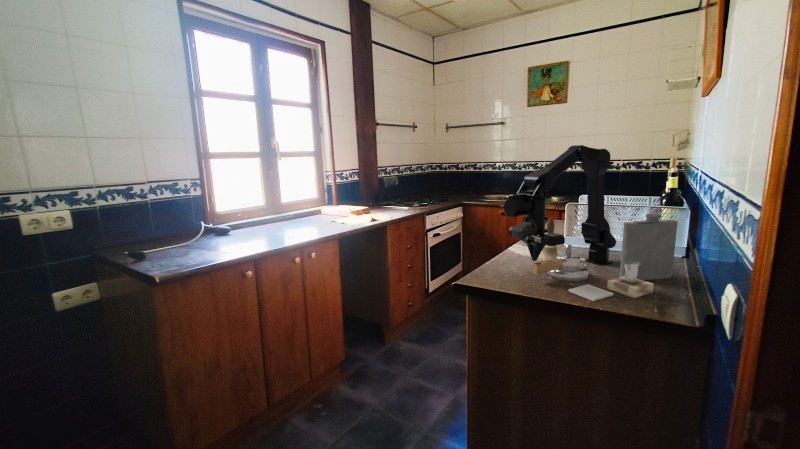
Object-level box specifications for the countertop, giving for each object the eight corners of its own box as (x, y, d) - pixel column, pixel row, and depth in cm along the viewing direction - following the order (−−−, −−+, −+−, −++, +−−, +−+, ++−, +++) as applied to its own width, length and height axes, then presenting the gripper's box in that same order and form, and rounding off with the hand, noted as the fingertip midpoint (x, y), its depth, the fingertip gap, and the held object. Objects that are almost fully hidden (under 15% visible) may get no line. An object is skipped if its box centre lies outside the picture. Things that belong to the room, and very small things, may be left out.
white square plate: (587, 286, 108) (588, 284, 108) (613, 295, 101) (613, 293, 101) (568, 291, 105) (568, 289, 105) (593, 301, 98) (593, 299, 98)
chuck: (566, 263, 123) (567, 241, 121) (584, 269, 116) (586, 245, 115) (526, 272, 116) (527, 249, 114) (543, 279, 109) (544, 254, 108)
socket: (625, 283, 109) (626, 275, 109) (653, 292, 102) (653, 283, 102) (607, 288, 106) (607, 280, 106) (634, 297, 99) (635, 289, 98)
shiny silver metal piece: (630, 287, 106) (632, 260, 105) (640, 290, 104) (643, 262, 102) (618, 290, 104) (621, 262, 103) (629, 293, 102) (631, 265, 100)
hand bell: (563, 263, 130) (566, 219, 127) (539, 262, 132) (540, 219, 129) (558, 256, 138) (560, 215, 135) (535, 256, 140) (537, 215, 137)
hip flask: (666, 274, 116) (673, 211, 112) (676, 278, 112) (683, 214, 108) (617, 276, 115) (622, 214, 111) (625, 281, 111) (631, 216, 107)
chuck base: (565, 266, 126) (565, 261, 126) (596, 276, 116) (597, 270, 115) (539, 272, 121) (539, 267, 121) (569, 283, 111) (569, 277, 110)
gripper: (496, 212, 121) (495, 257, 124) (539, 221, 104) (537, 273, 107) (522, 208, 125) (521, 252, 128) (567, 216, 109) (564, 266, 112)
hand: (534, 260), depth 119 cm, fingers closed
